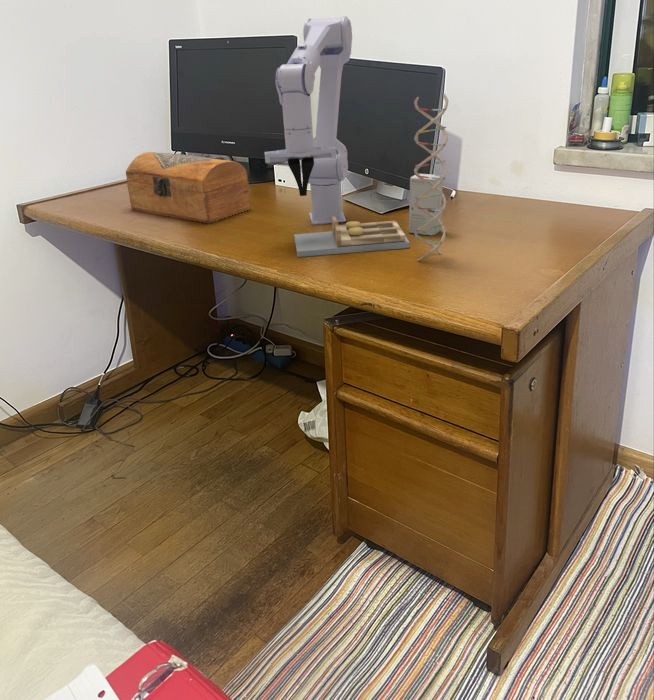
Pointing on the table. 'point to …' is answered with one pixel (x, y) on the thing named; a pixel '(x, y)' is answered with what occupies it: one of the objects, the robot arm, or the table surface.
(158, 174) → the wooden box
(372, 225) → the beige flat slatted frame
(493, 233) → the table surface
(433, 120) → the dna model
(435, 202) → the skincare box
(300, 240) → the board
